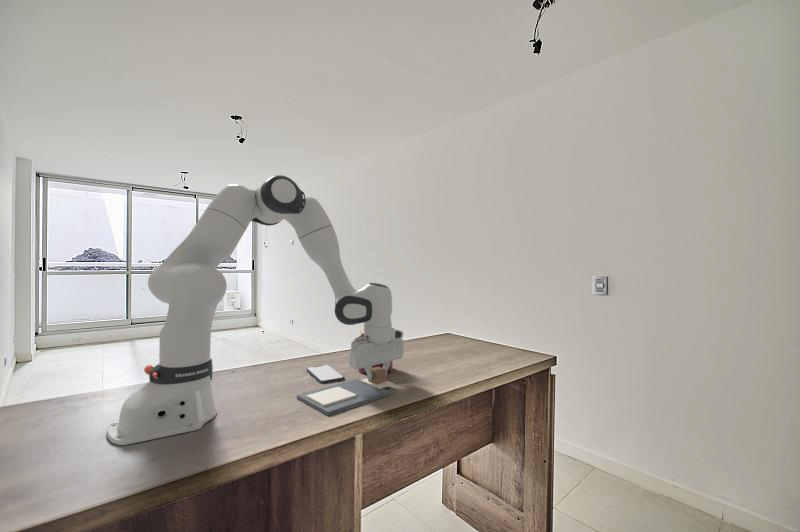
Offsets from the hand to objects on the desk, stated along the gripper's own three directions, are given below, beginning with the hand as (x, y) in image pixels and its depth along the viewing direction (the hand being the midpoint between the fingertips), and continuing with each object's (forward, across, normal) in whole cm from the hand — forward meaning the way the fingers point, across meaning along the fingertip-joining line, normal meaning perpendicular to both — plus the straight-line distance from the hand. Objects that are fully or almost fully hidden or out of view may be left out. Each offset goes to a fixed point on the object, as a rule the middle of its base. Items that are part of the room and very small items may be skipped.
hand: (377, 377), depth 118 cm
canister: (+3, +11, +14) cm, 18 cm away
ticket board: (+3, -13, 0) cm, 13 cm away
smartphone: (+4, -6, +21) cm, 22 cm away
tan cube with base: (+2, 0, 0) cm, 2 cm away
